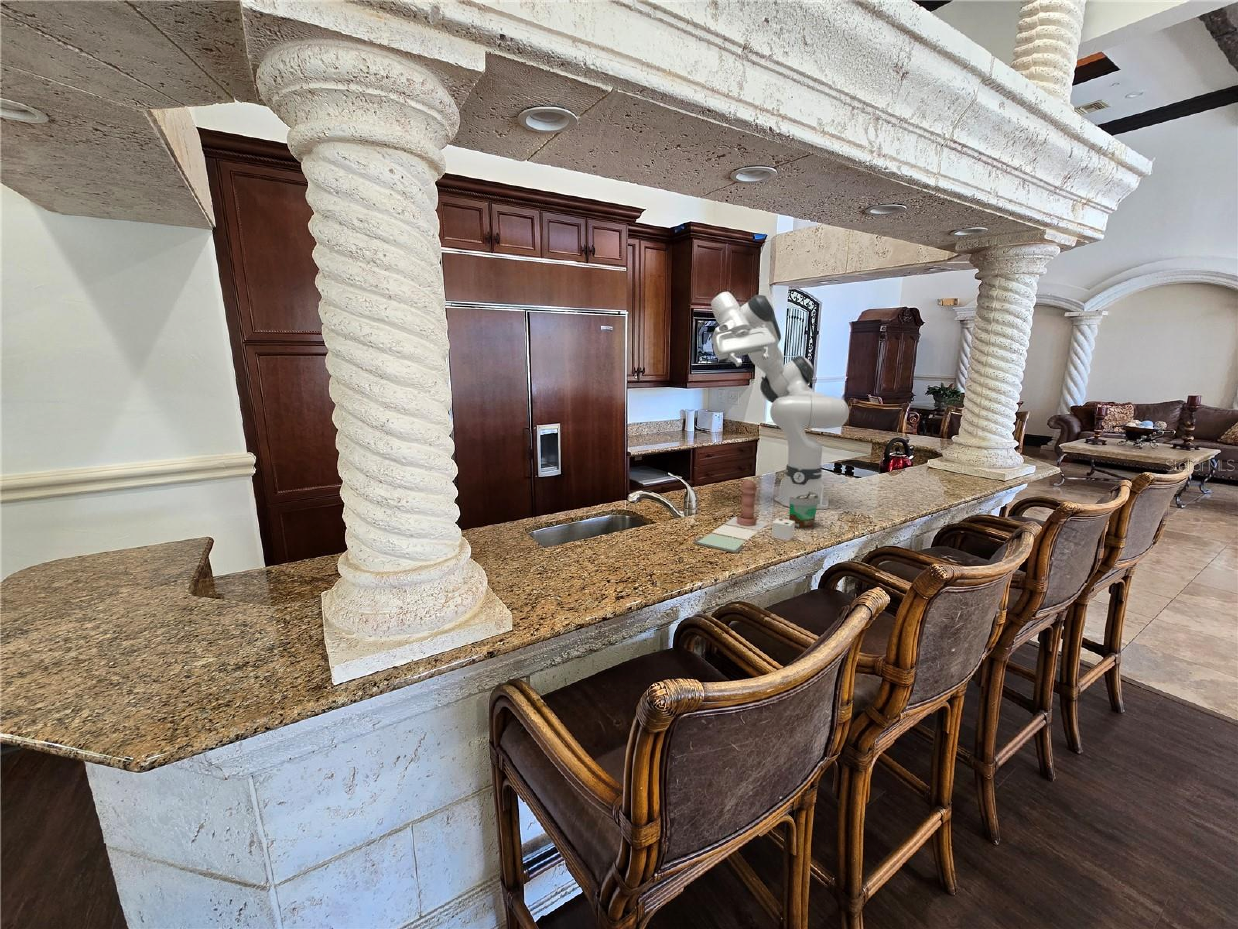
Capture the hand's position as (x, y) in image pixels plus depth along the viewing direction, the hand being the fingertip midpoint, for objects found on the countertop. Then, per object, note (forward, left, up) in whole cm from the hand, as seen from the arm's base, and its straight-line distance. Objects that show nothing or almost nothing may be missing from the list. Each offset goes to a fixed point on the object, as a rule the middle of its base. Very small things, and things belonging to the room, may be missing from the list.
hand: (753, 362), depth 160 cm
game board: (+22, +5, -50) cm, 55 cm away
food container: (+3, +21, -51) cm, 55 cm away
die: (+18, +18, -50) cm, 56 cm away
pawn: (+12, +5, -50) cm, 52 cm away
